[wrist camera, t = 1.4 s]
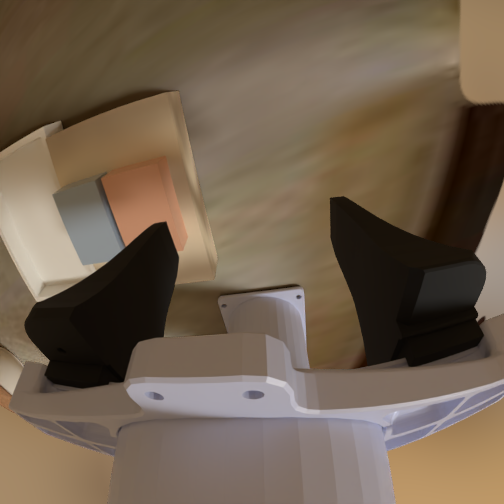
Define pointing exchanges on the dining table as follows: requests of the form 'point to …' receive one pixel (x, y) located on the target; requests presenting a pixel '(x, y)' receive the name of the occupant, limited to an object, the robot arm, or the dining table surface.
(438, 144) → the dining table surface
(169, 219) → the terracotta tile
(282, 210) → the dining table surface
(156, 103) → the birch plate
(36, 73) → the dining table surface
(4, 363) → the lidded bowl
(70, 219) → the slate-blue tile
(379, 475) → the robot arm
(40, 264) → the box
